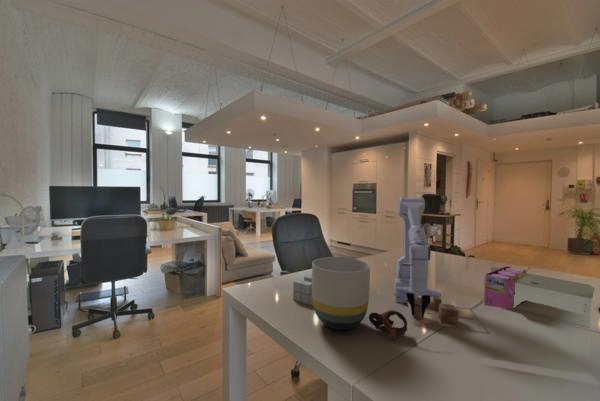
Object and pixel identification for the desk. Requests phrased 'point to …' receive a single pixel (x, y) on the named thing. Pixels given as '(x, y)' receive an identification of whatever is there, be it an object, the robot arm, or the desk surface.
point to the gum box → (502, 287)
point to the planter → (340, 291)
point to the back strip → (460, 311)
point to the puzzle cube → (303, 290)
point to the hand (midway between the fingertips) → (417, 315)
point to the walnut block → (448, 314)
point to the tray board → (464, 318)
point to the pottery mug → (389, 323)
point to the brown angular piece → (427, 317)
